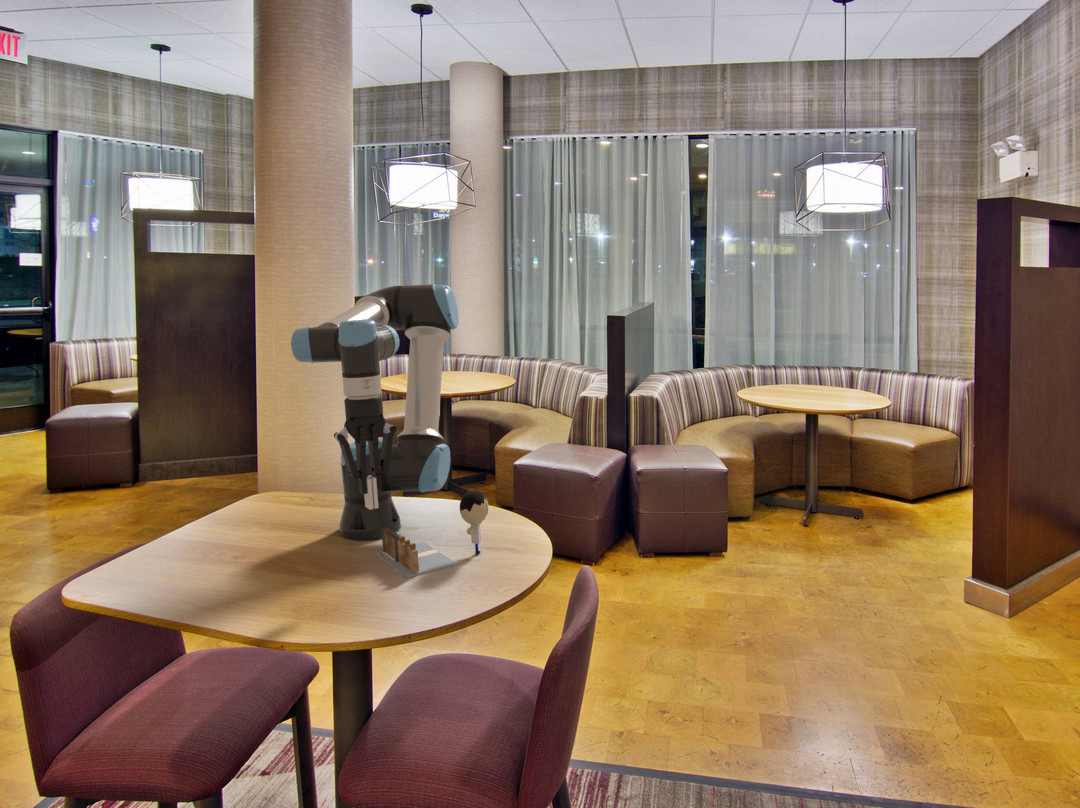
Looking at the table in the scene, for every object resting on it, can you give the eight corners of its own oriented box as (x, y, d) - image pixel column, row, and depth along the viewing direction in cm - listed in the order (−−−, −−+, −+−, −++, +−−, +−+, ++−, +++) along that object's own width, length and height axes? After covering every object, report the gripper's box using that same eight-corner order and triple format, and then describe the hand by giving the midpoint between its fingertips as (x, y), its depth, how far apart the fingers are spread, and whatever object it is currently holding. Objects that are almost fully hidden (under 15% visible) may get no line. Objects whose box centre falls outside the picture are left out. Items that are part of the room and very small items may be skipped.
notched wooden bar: (398, 561, 172) (396, 535, 171) (403, 560, 173) (401, 534, 172) (414, 572, 165) (412, 546, 164) (419, 571, 166) (417, 545, 165)
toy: (485, 561, 172) (481, 497, 169) (457, 560, 173) (453, 496, 171) (495, 547, 180) (491, 486, 178) (468, 546, 182) (464, 485, 179)
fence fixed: (382, 552, 180) (380, 526, 179) (388, 551, 181) (386, 525, 179) (397, 564, 172) (395, 536, 171) (404, 562, 173) (402, 535, 172)
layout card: (376, 555, 178) (376, 553, 178) (423, 543, 185) (423, 541, 185) (406, 578, 164) (406, 576, 164) (456, 564, 171) (456, 562, 171)
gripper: (337, 402, 149) (347, 518, 154) (401, 394, 157) (408, 505, 161) (324, 398, 156) (334, 509, 160) (386, 390, 163) (394, 496, 167)
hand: (371, 507), depth 160 cm, fingers closed
